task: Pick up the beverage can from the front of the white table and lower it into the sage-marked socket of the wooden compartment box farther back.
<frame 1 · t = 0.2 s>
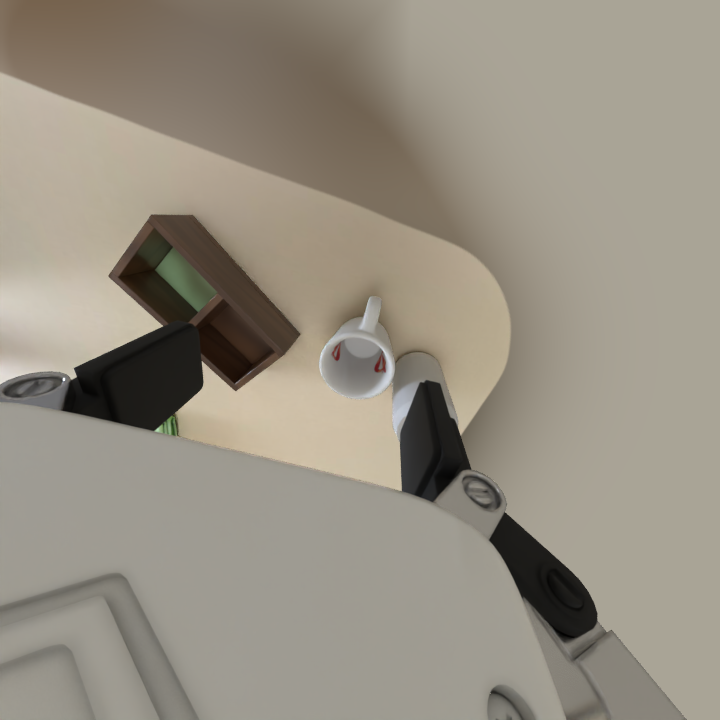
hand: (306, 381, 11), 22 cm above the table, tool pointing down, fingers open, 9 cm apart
wooden compartment box: (228, 301, 34), on the table
beverage can: (416, 369, 36), on the table
cup: (366, 328, 34), on the table
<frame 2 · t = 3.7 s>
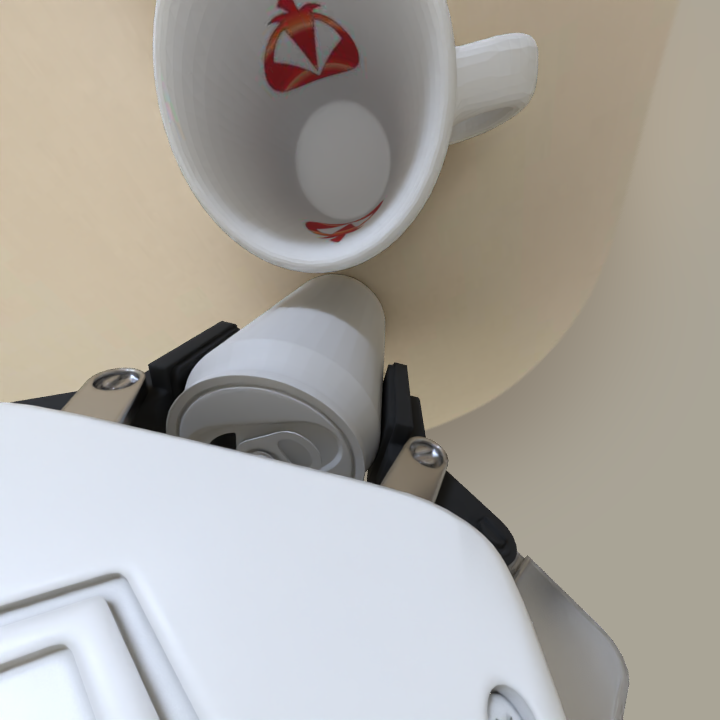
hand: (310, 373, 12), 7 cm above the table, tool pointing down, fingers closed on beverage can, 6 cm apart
beverage can: (339, 319, 18), on the table, touching gripper
cup: (372, 161, 14), on the table
when the fingers open (8 cm above the table, at t = 11.5 s): beverage can stays where it is, resting on wooden compartment box.
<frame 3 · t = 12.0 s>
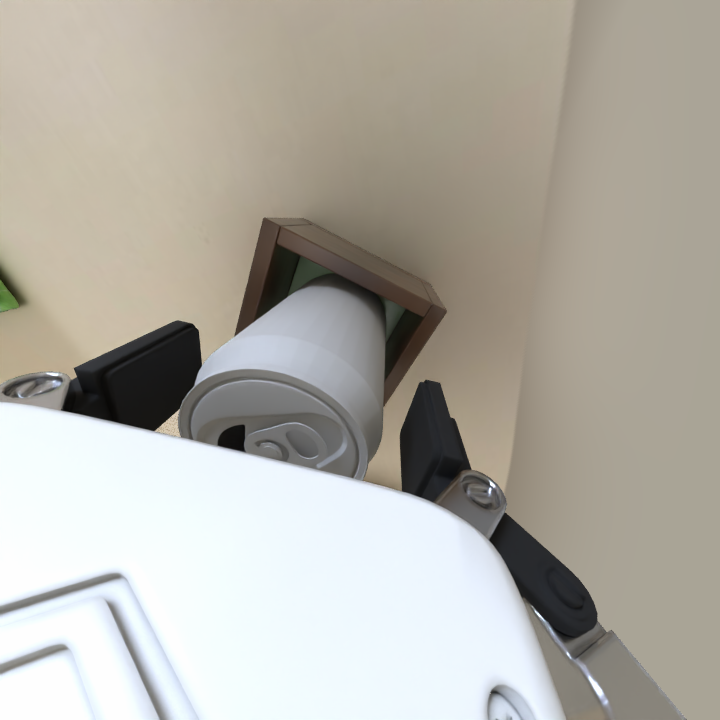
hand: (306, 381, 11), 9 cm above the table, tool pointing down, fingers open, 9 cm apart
wooden compartment box: (320, 359, 21), on the table
beverage can: (340, 318, 18), point 1 cm above the table, touching wooden compartment box
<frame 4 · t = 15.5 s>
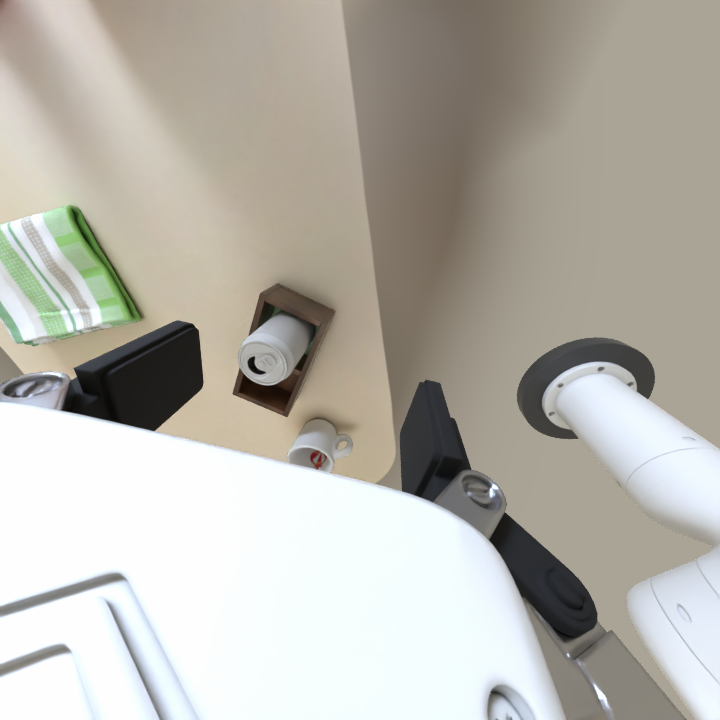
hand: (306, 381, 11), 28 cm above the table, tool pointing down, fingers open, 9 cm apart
dish towel: (58, 281, 42), on the table
wooden compartment box: (289, 345, 43), on the table
beverage can: (296, 326, 40), point 1 cm above the table, touching wooden compartment box
cup: (328, 428, 50), on the table
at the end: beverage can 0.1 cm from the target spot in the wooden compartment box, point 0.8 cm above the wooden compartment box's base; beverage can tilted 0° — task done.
